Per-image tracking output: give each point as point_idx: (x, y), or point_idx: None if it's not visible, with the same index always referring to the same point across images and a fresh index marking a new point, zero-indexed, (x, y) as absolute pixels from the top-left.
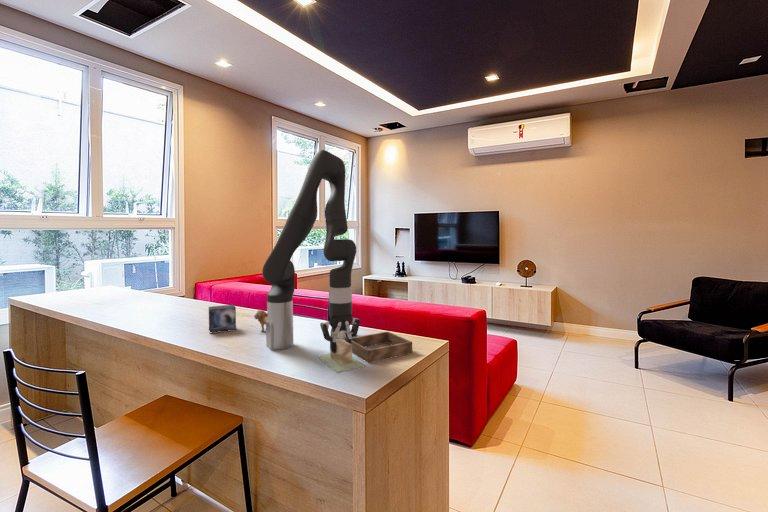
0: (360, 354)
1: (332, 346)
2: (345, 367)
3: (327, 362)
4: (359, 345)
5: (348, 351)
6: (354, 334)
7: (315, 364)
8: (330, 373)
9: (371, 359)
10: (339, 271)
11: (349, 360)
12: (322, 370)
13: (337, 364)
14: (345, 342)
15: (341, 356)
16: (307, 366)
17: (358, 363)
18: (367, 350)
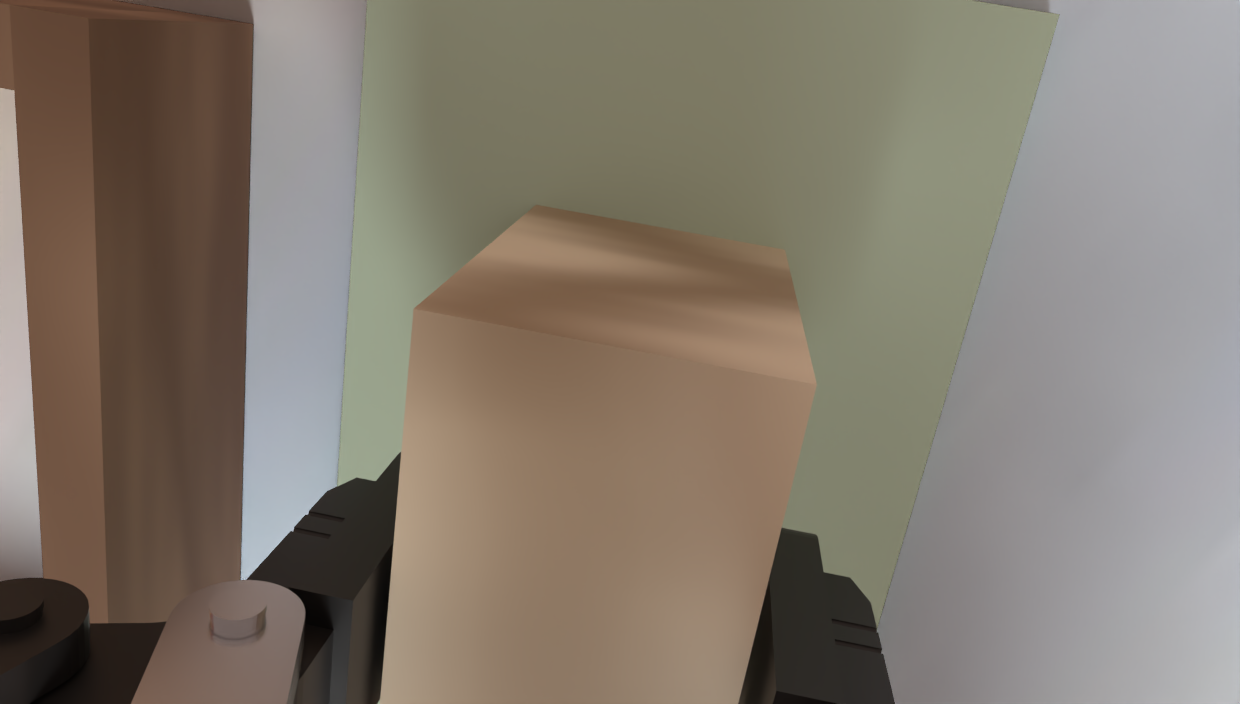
0: (208, 358)
1: (863, 663)
2: (795, 83)
3: (881, 535)
4: (83, 499)
5: (570, 283)
6: (24, 635)
7: (1052, 637)
8: (1183, 82)
9: (147, 8)
10: None
11: (586, 224)
12: (1175, 325)
13: (810, 328)
14: (448, 602)
15: (778, 294)
16: (1219, 658)
17: (457, 81)
18: (87, 70)
